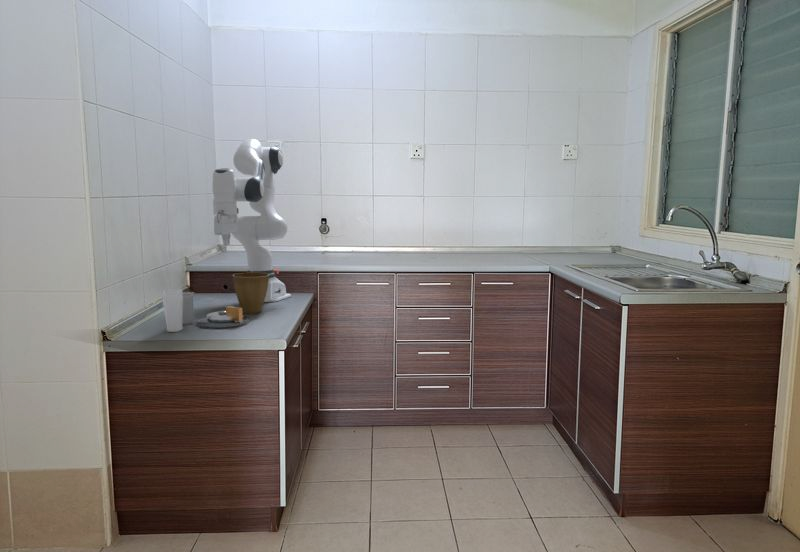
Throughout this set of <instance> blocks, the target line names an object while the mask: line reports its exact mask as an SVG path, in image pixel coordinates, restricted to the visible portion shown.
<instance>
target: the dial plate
mask: <svg viewBox="0 0 800 552" xmlns="http://www.w3.org/2000/svg"><path fill="white" fill-rule="evenodd" d="M242 316H243V321H240V322H237V321H232V322H224V323H214V322H209V321H207V316H205V317H203V318H200V319H198V320H197V326H198V327H199V328H203V329H209V328H211V329H213V330H218V329H221V330H223V329H222V328H224V329H230V328H231V329H233V328H238V327H242V326H246V325H248V324H249V323H250V318H249V316H246V315H243V314H242Z"/></svg>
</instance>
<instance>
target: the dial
mask: <svg viewBox="0 0 800 552" xmlns="http://www.w3.org/2000/svg"><path fill="white" fill-rule="evenodd" d="M242 315H243V312H242V308H241V307H237V306H233V305H228V306H227V305H226V306H225V310H219V311H214V312H209V313H207V314H206V317H207V321H209V322H214V323H224V322H232V321H237V322H240V321H243V316H242Z"/></svg>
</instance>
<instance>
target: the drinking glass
mask: <svg viewBox="0 0 800 552" xmlns="http://www.w3.org/2000/svg"><path fill="white" fill-rule="evenodd" d="M183 292H184V291H183V289H182V288H167V289H163V290H162V302H163V303H162V305H163V311H164V316H165V323H166V331H167V332H169V333H178V332H181V331H182V330H183V325H182V317H183Z"/></svg>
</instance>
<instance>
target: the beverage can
mask: <svg viewBox="0 0 800 552" xmlns="http://www.w3.org/2000/svg"><path fill="white" fill-rule="evenodd" d="M182 292H183V317H182V326H189V325H191V324H192V325H193V323H194V322H195V312H194V310H195V309H194V296H193V293H192V292H191V291H182Z"/></svg>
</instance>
